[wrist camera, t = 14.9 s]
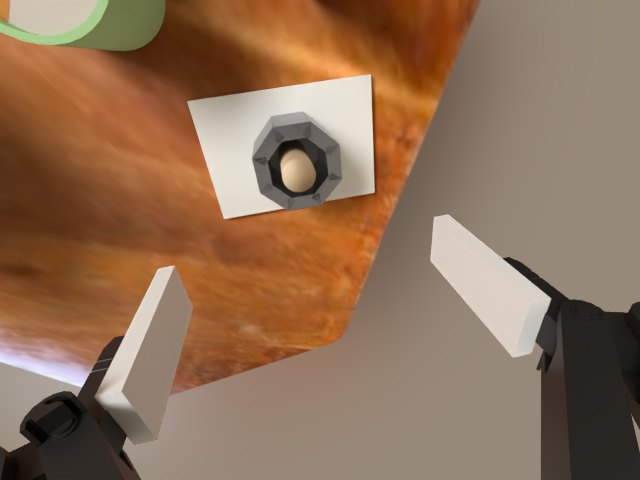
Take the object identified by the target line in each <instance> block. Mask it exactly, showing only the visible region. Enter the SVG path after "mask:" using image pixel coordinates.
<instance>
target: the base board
mask: <svg viewBox="0 0 640 480" xmlns="http://www.w3.org/2000/svg"><path fill="white" fill-rule="evenodd" d="M187 103H188V106H189V109H190V112H191V115H192V119H193V122H194V125H195V128H196V131H197V134H198V138H199V141H200V144H201V147H202V150H203V154H204V157H205V160H206V163H207V166H208V169H209V173H210V176H211V179H212V182H213V185H214V189H215V192H216V195H217V198H218V201H219V204H220V208H221V211H222V214H223V217H224V219H228V218H234V217H239V216H245V215H251V214H256V213H262V212H268V211H273V210H279V209H285V208H283V207H281V206H280V205H278V204H277V203H275V202H273V201H272V200H270V199H269V198H267V197H265V196H264V195H262V194H261V193H260V191H259V187H258V183H257V178H256V174H255V170H254V166H253V161H252V154H253V147H254V142H255V140H256V139H257V137H258V135H259V134H260V132H261V131H262V129H263V128H264V126H265V125H266V123H267V122H268V120H269V119H270V117H272V116H275V115H282V114H288V113H295V112H301V111H302V112H304V113H305V114H307V115H308V116H309V117H310V118H312V119H313V120H314V121H315V122H317V123H318V124H319V125H320V126H322V127H323V128H324V129H325V130H327V131H328V133H329V134H330V135H331V136H332V137H333V138H334V139H335V140H336V141H337V142H338V143H339V146H340V157H341V169H342V180H341V181H340V183H339V184H338V185H337V186H336V188H335V189H334V190H333V191H332V193H331V194H330V195H329V197H328V198H327V199H326V200H325V201H330V200H336V199H342V198H347V197H353V196H359V195H364V194H370V193H375V188H374V156H373V124H372V92H371V74H367V75H360V76H353V77H347V78H340V79H333V80H326V81H319V82H312V83H306V84H299V85H292V86H285V87H278V88H272V89H265V90H258V91H251V92H244V93H237V94H231V95H224V96H217V97H210V98H203V99H197V100H190V101H187ZM297 140H299V141H300V142H301V143H302V144H303V146H304V148H305V150H306V152H307V154H308V156H309V158H310V160H311V162H312V165H313V164H314V163H315V162H316V160H317V159H318V151H317V145H316V144H314V143H313V142H312V141H310V140H309V139H308V138H301V139H297ZM281 143H282V142H281ZM281 143H280V145H281ZM280 145H279V146H278V148H277V149H276V151H275V152H274V153H273V155H272V156H271V158H270V162H271V166H272V167H274V168H275V169H277V170H278V171H280V172H281V167H280V160H279V154H278V150H279V147H280Z"/></svg>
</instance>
